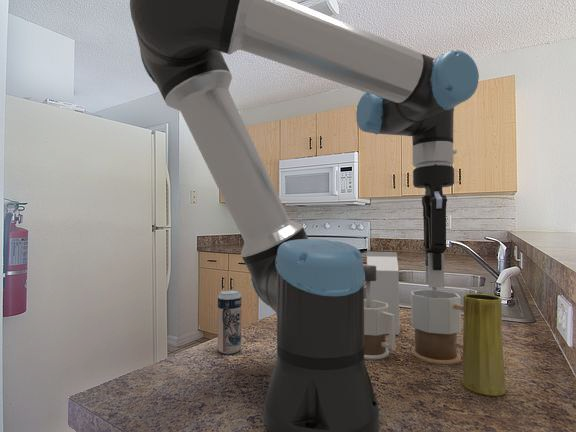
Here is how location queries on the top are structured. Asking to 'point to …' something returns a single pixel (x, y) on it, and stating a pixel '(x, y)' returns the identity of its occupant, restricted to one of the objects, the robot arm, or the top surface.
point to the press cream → (376, 322)
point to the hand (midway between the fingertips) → (434, 285)
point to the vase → (483, 345)
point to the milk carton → (386, 282)
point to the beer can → (229, 321)
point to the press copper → (436, 326)
